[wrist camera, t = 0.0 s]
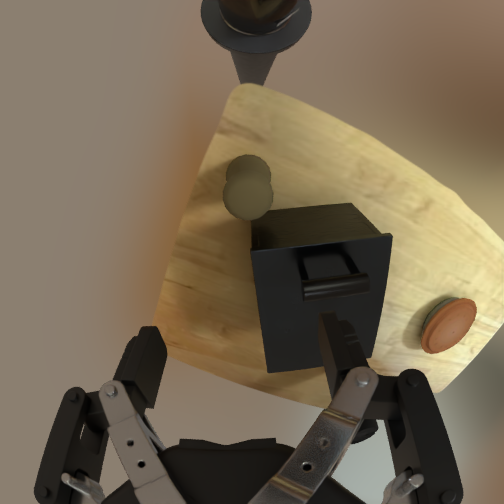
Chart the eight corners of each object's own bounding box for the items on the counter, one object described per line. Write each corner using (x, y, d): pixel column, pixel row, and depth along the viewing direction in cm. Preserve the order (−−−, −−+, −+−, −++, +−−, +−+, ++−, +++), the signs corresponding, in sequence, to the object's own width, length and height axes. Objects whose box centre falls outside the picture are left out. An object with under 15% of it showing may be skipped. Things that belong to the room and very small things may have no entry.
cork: (273, 195, 38) (281, 225, 28) (229, 200, 38) (222, 232, 29) (268, 152, 35) (276, 166, 26) (222, 157, 36) (212, 174, 26)
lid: (250, 247, 27) (250, 279, 23) (389, 232, 27) (415, 258, 22) (267, 369, 36) (269, 402, 31) (369, 353, 35) (381, 383, 30)
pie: (402, 339, 52) (410, 356, 48) (442, 282, 46) (454, 296, 41) (442, 345, 55) (450, 359, 50) (478, 296, 48) (489, 308, 43)
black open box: (251, 212, 39) (251, 256, 28) (351, 202, 39) (388, 240, 27) (263, 310, 47) (267, 368, 36) (347, 300, 47) (369, 353, 35)
